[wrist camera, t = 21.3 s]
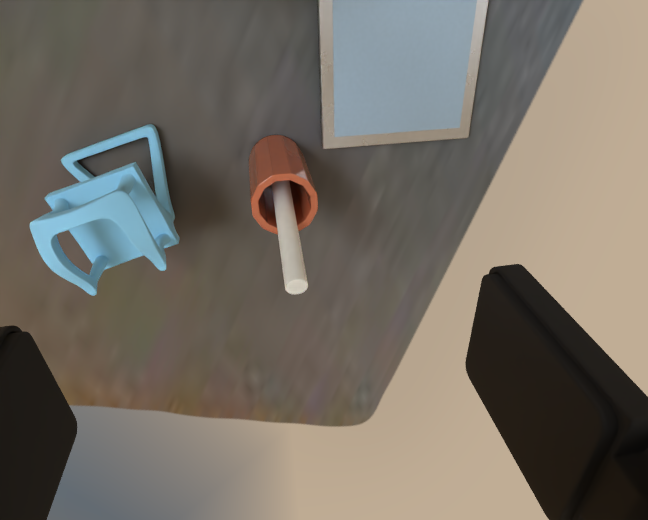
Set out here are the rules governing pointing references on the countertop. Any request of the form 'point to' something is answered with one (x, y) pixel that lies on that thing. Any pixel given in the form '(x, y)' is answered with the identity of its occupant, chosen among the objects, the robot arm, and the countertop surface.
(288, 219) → the stylus
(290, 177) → the pen pot
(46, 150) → the countertop surface
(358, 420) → the countertop surface
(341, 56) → the plate
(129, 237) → the chair
